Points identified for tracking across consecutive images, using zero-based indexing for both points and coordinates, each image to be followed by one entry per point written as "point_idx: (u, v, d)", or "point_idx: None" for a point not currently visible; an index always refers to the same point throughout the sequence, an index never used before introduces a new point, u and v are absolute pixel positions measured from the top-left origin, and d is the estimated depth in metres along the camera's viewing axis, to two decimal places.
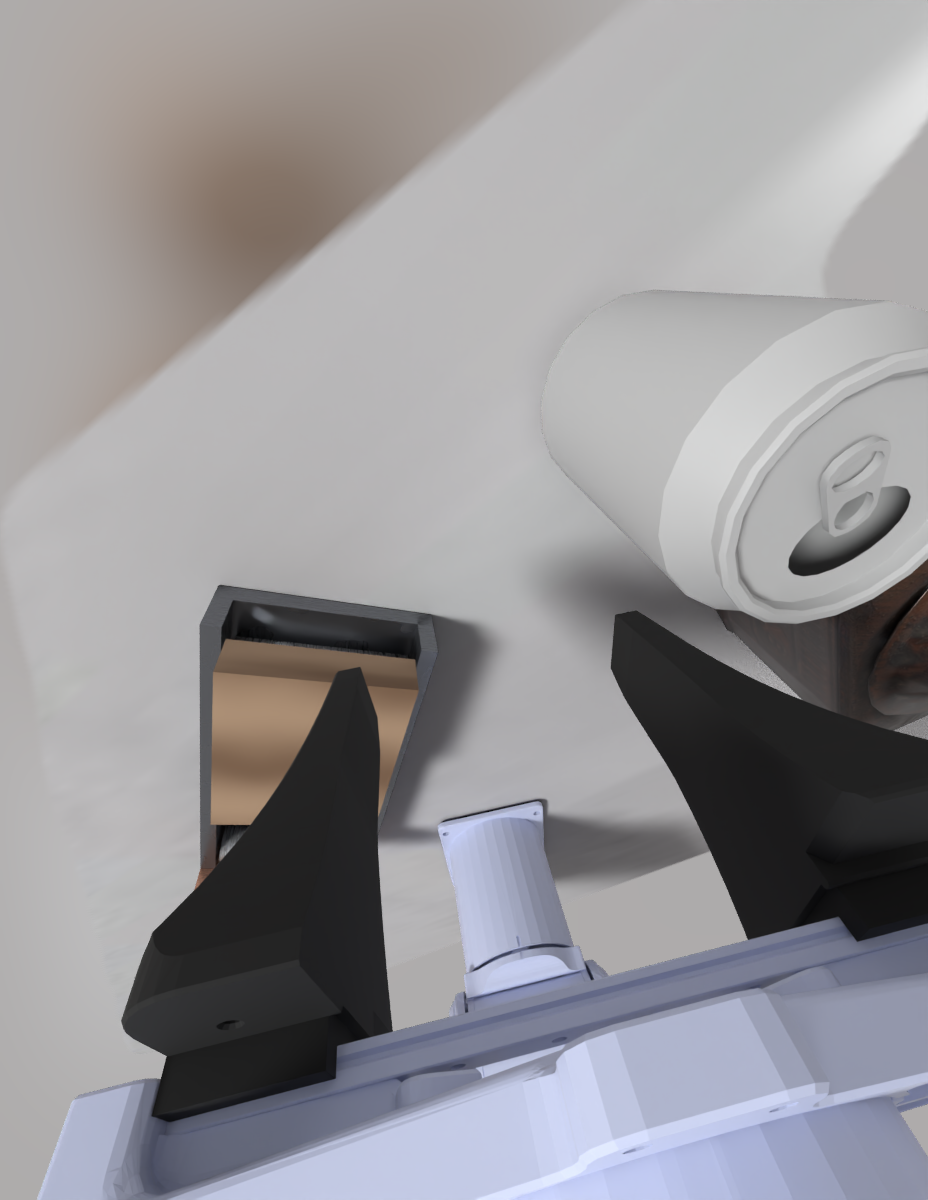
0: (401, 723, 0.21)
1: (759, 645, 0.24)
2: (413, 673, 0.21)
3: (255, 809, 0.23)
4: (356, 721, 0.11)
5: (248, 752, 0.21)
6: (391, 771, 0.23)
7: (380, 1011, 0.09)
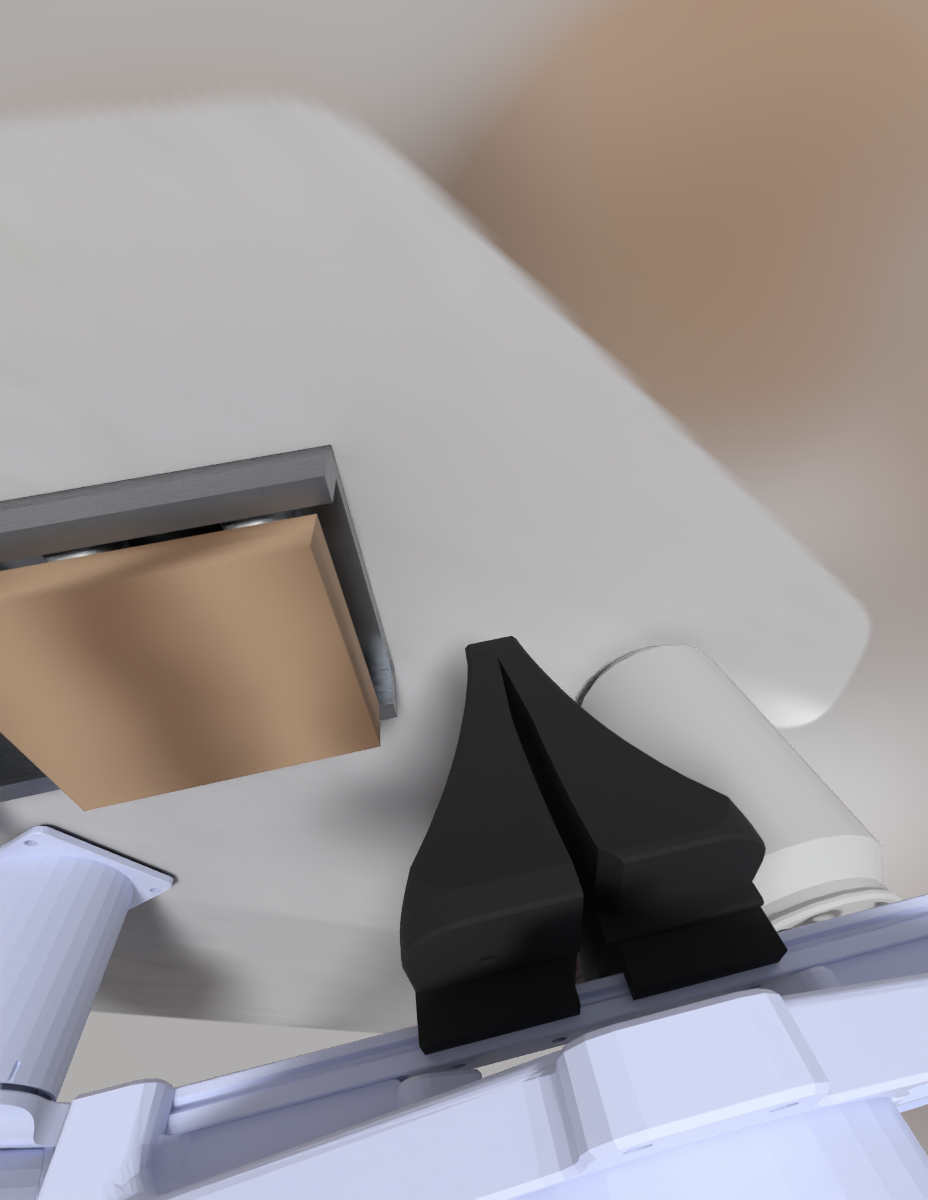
0: (318, 753, 0.16)
1: None
2: (379, 720, 0.17)
3: (1, 673, 0.12)
4: None
5: (153, 627, 0.12)
6: (220, 779, 0.16)
7: None
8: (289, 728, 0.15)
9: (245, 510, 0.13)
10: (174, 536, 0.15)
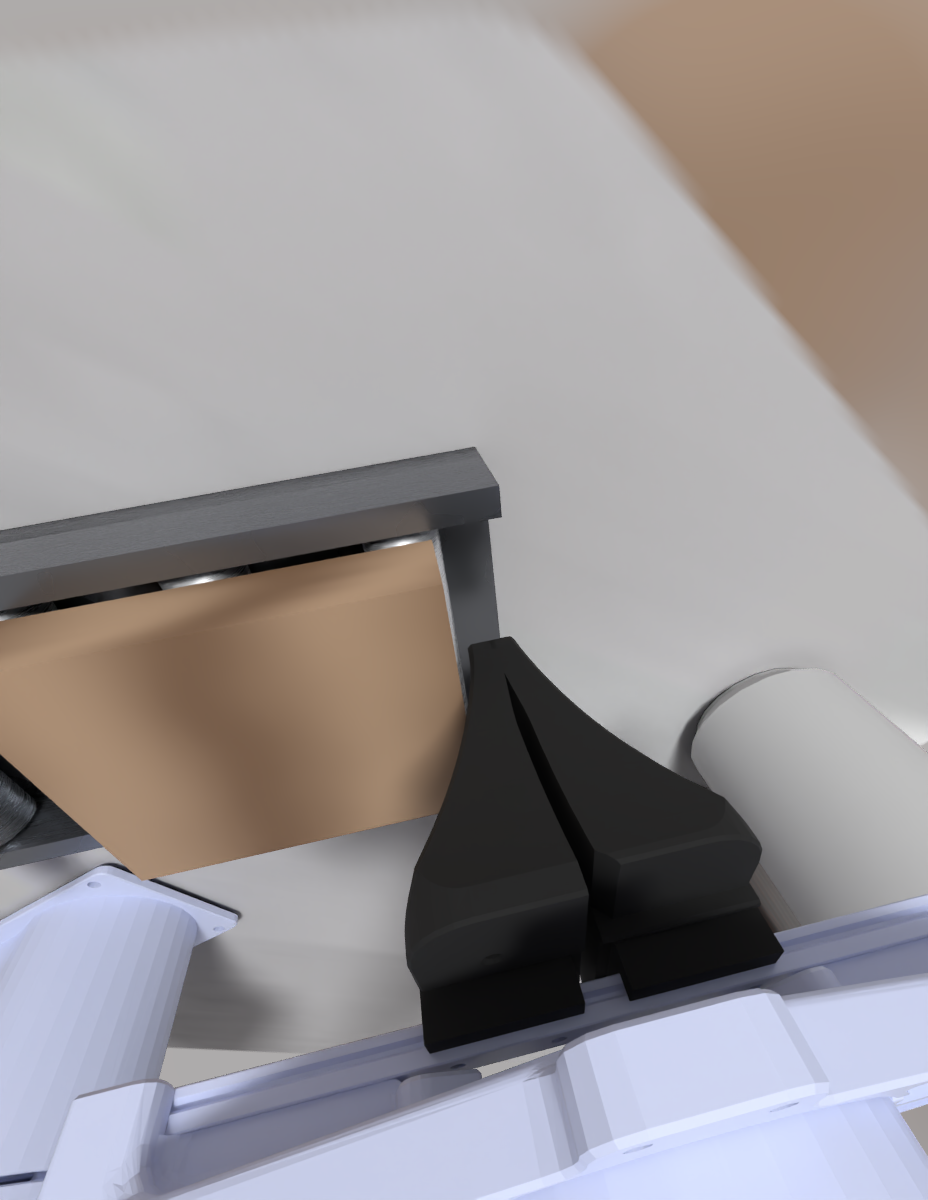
0: (411, 813, 0.14)
1: None
2: None
3: (59, 737, 0.10)
4: None
5: (244, 681, 0.10)
6: (299, 843, 0.14)
7: None
8: (384, 787, 0.13)
9: (401, 526, 0.11)
10: None
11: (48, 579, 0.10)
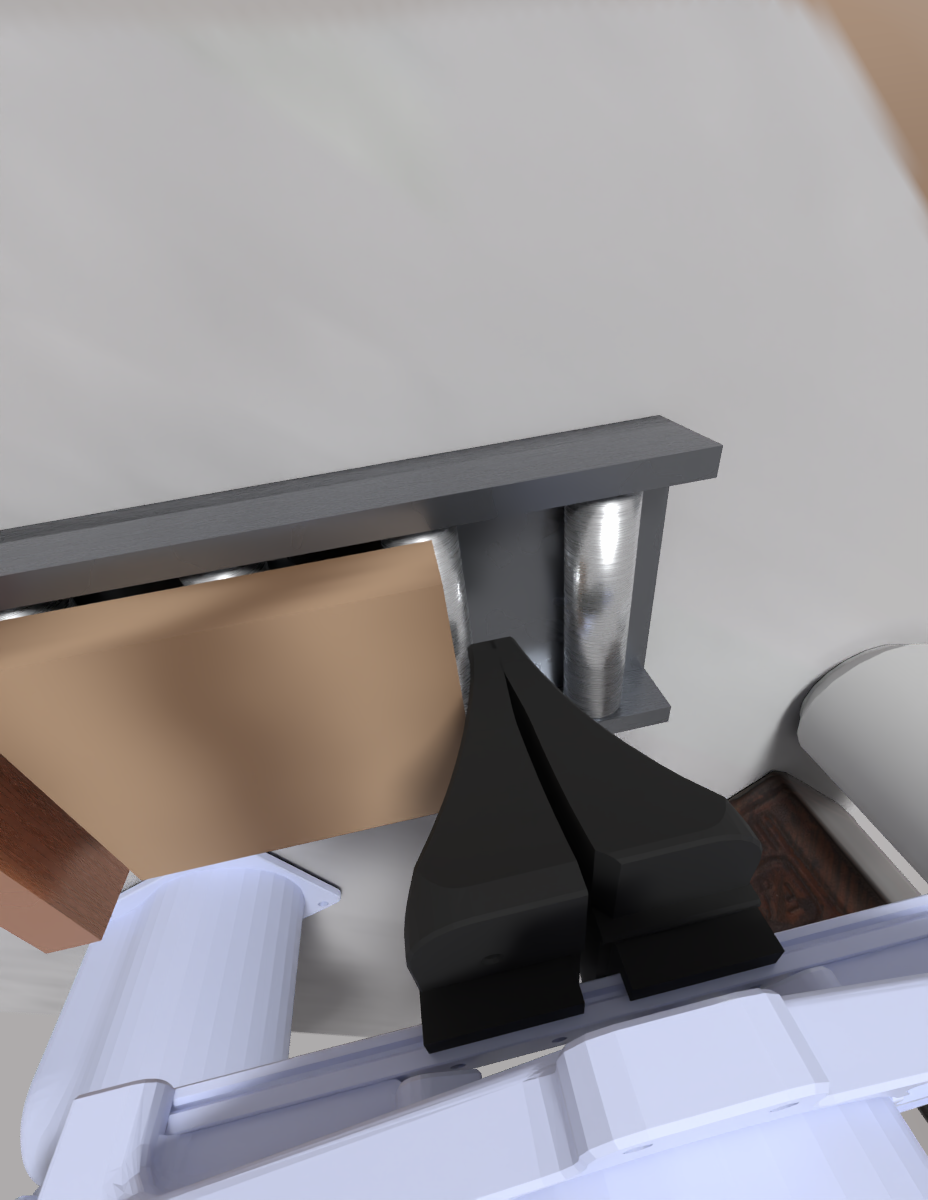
0: (411, 813, 0.14)
1: None
2: None
3: (60, 736, 0.10)
4: None
5: (244, 681, 0.10)
6: (298, 843, 0.14)
7: None
8: (383, 786, 0.13)
9: (625, 485, 0.11)
10: None
11: (299, 533, 0.11)
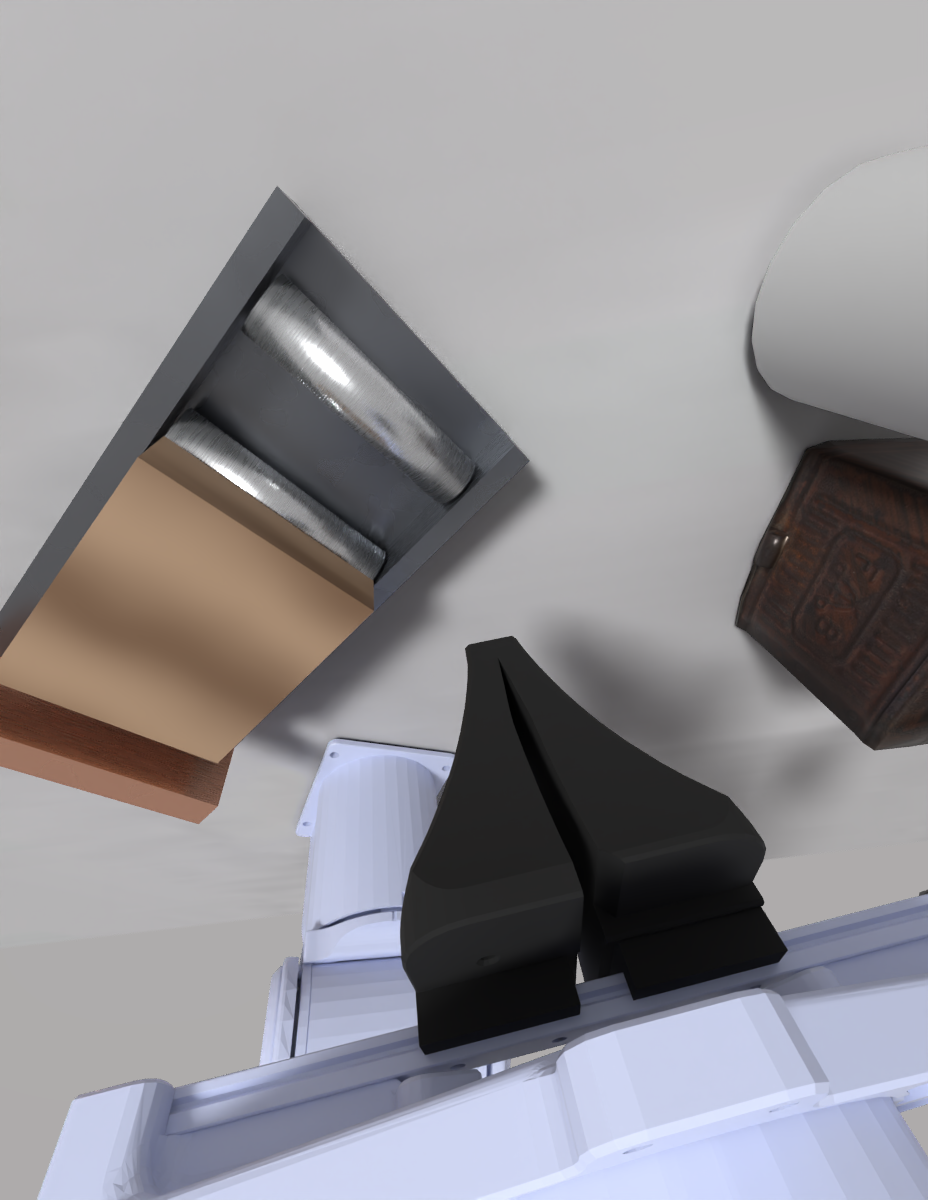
0: (329, 643, 0.17)
1: (791, 636, 0.23)
2: (370, 592, 0.17)
3: (70, 681, 0.16)
4: None
5: (113, 596, 0.15)
6: (280, 700, 0.18)
7: None
8: (284, 631, 0.16)
9: (243, 287, 0.13)
10: (235, 395, 0.16)
11: (94, 488, 0.15)
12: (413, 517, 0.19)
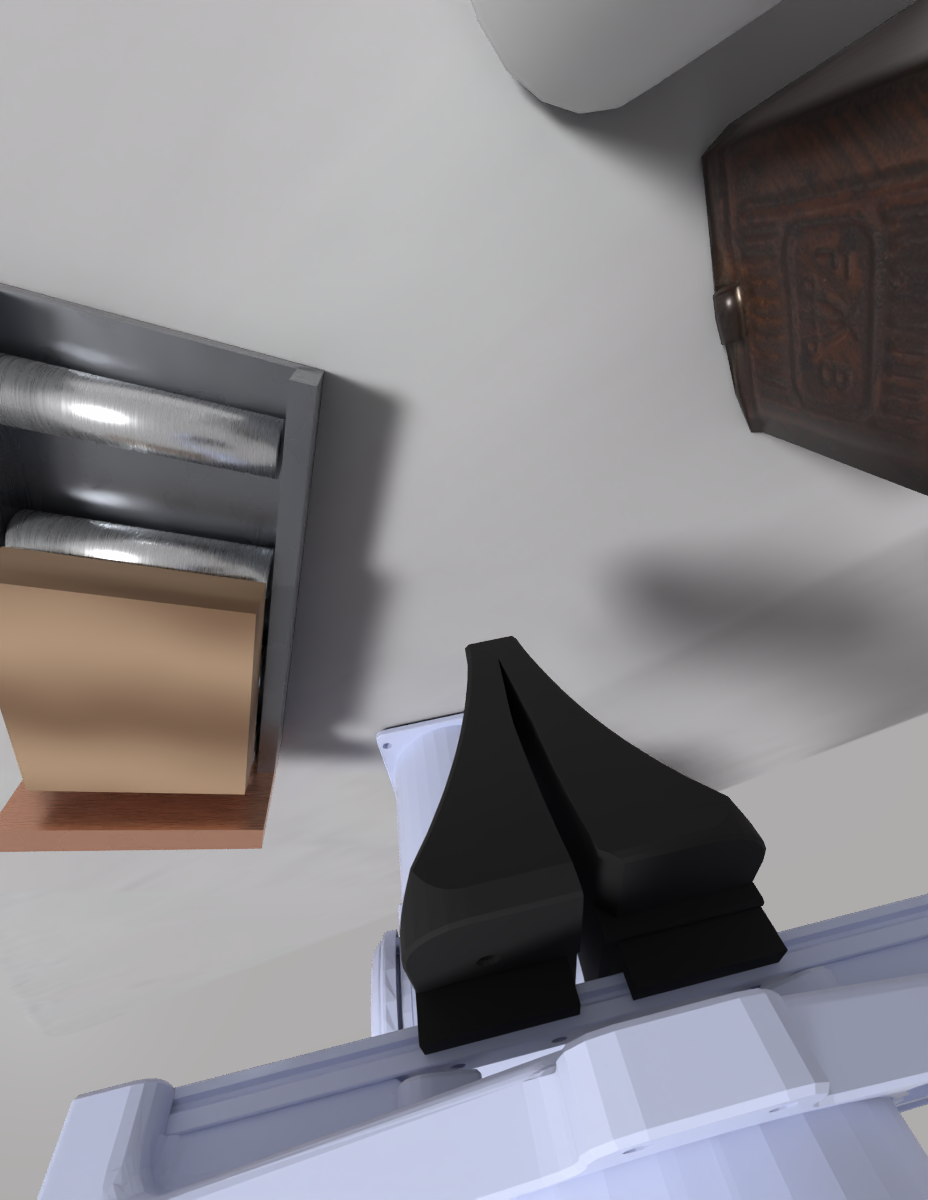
0: (243, 659, 0.17)
1: (804, 410, 0.17)
2: (256, 596, 0.17)
3: (80, 771, 0.19)
4: None
5: (47, 695, 0.16)
6: (247, 724, 0.19)
7: None
8: (197, 665, 0.17)
9: None
10: (56, 478, 0.16)
11: None
12: None
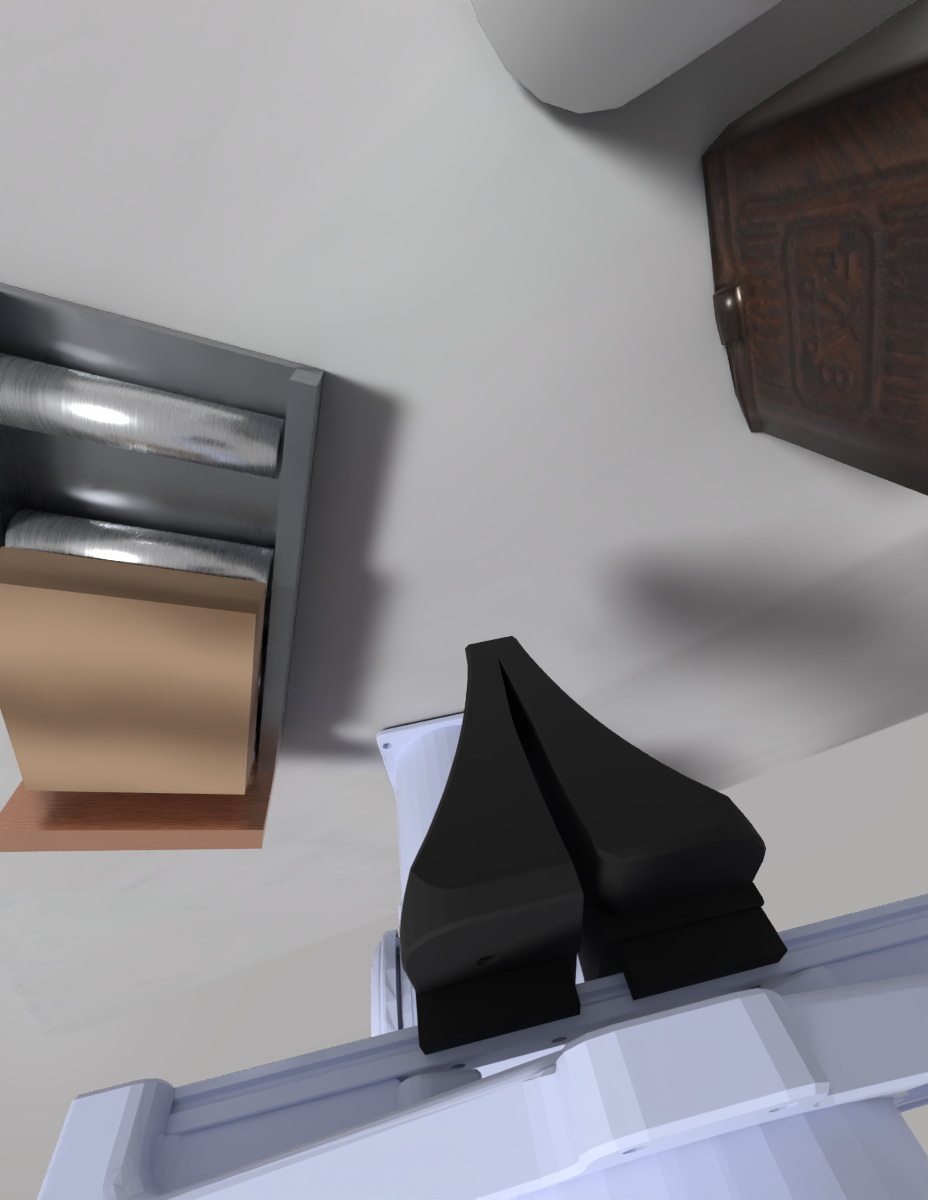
0: (243, 659, 0.17)
1: (804, 410, 0.17)
2: (256, 596, 0.17)
3: (80, 771, 0.19)
4: None
5: (47, 695, 0.16)
6: (247, 724, 0.19)
7: None
8: (197, 665, 0.17)
9: None
10: (56, 478, 0.16)
11: None
12: None
